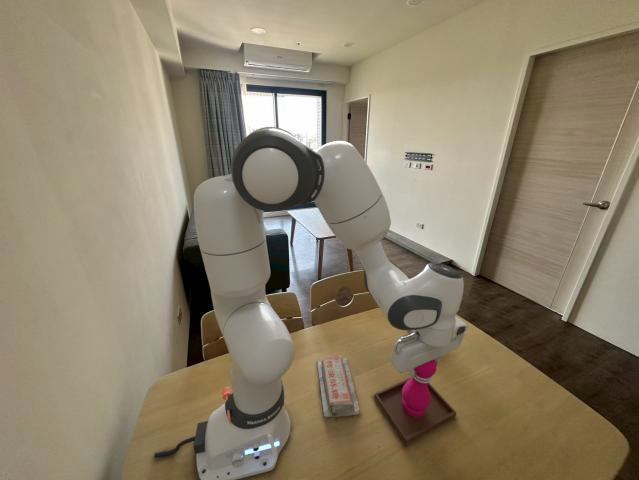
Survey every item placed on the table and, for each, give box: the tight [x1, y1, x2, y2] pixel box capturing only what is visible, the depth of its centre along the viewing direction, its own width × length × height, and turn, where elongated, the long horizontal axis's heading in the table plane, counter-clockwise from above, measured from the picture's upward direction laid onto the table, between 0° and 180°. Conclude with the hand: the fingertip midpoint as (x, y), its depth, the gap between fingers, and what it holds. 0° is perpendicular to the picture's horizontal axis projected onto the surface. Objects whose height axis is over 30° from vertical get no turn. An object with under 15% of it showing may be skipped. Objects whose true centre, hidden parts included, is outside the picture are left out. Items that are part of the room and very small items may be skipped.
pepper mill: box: [402, 359, 437, 417], centre depth 66 cm, size 7×7×20 cm
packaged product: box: [317, 355, 361, 419], centre depth 75 cm, size 18×5×10 cm
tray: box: [373, 377, 457, 446], centre depth 70 cm, size 17×13×2 cm
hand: (422, 369), depth 65 cm, fingers closed on pepper mill, 6 cm apart
